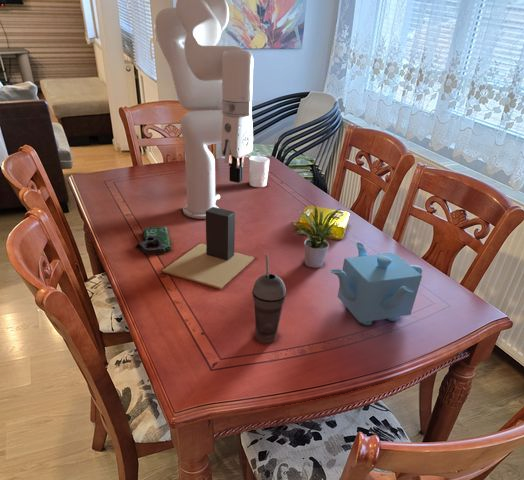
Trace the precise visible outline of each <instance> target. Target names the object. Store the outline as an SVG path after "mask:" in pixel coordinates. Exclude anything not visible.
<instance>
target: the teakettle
mask: <svg viewBox="0 0 524 480" xmlns="http://www.w3.org/2000/svg"><path fill="white" fill-rule="evenodd" d="M355 245H356V248H357V251H358V256H353V257H345V258H343V264H342V268H341V269H337V268H336V269H330V270H329V272H330V273H331V274H334V275H335V276H337V278H338V283H339V284H338V285H339V286H338V292H337V298H338V299H339V300H340V301H341V303H342V304H343V305H344V306H345V307H346V308H347V310H348V311H349V312H350V313H351V314H352V315H353V316H354V318H355V319H356V320H357V321H358V323H360V324H362V325H365V326H371V325H372V324H373V321H378V320H379V321H380V320H385V319H386V320H388V321H391V322H396V321H398V319H399V317H404V316H410V315H411V314H412V312H413V308H414V305H415V302H416V299H417V294H418V291H419V287H420V284H421V282H422V278H423V275H422V274H423V268H422V267H421V266H419V265H415V264H409V263H408V262H407V261H405V260H404V259H403V258H402V257H401V256H399V255H398V254H397V253H396V252H389V253H379V254H378V253H377V254H370V255H369V254H368V253H367V249H366V247H365V246H364V244H363V243H362V242H356V244H355Z"/></svg>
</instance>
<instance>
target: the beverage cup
mask: <svg viewBox="0 0 524 480" xmlns="http://www.w3.org/2000/svg"><path fill="white" fill-rule="evenodd" d="M269 267H270V266H269V254H268V253H266V254H265V274H262V275H261V276H259V277H258V278H257V279H256V280H255V282H254V284H253V288H252V291H251V294H252V300H253V306H254V307H253V308H254V329H255V339H256V340H257V341H259V342H261V343H266V344H268V343H273V342H274V341H275V340H276V338H277V334H278V329H279V325H280V319H281V314H282V309H283V305H284V303H285V300H286V297H287V289H286V285H285V282H284V281H283V279H282V278H281V277H279V275H276V274H274V273H270V270H269Z"/></svg>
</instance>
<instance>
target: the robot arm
mask: <svg viewBox="0 0 524 480" xmlns="http://www.w3.org/2000/svg"><path fill="white" fill-rule="evenodd" d="M229 9H230V8H229V4H228V2H227V0H176V3H175V7H167V8H162V9H161V10H159V12H157V14H156V16H155V33H156V38H157V42H158V45H159V47H160V50H161V52H162V54H163V56H164V58H165V60H166V63H167V64H168V67H169V69H170V72H171V77H172V81H173V85H174V88H175V92H176V97H177V100H178V103H179V105H180V107H181V108H182V109H183V110H185V111H188V112H186V113H184V115H182V117H181V119H180V131H181V132H180V133H181V137H182V142H183V150H184V165H185V183H186V184H185V185H186V205H184V206H183V208H182V213H183V214H184V215H185V216H187V217H189V218H192V219H197V220H206V211H207V210H209V209H210V208H212V207H216V208H220V207H219V206H218V205H216V202H218V200H220V199H221V195H220V194H219V193H216V159H215V156H214V155H213V153H212V152H211V150H210V149H209V148H208V146H210V145H217V144H218V145H220V147H221V148H220V149H221V151H220V152H221V155H222V156H223V157H224V163H226V164H228V167H229V178H228V179H229V181H230V182H233V183H236V184H240V183H242V182H243V174H244V173H243V170H244V169H243V168H244V167H243V166H244V164H245V163H244V162H245V157H246V156H247V155H249V154H250V153H252V152H253V150H254V128H253V127H254V126H253V125H254V124H253V112H252V111H253V83H254V55H253V53H252V52H251V51H249V50H245V49H243V48H242V47H240V46H236V45H218V43H219V41H220V39H221V36H222V32H223V31H224V30H225V29H226V28H227V26H228V23H229V20H230V10H229ZM183 43H184V44H183Z"/></svg>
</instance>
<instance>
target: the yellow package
mask: <svg viewBox="0 0 524 480" xmlns="http://www.w3.org/2000/svg"><path fill="white" fill-rule="evenodd" d="M316 208H317V210H318V225H319V219H320V211H321V213H322V211H323V220H322V224H323V221H324V219H325V217H326V216H327V215H328V214H329V213H331V212H334V211H336V210H337V209H333V208H328V207H320V206H316ZM338 210H339V209H338ZM302 212H303V213H305V214H306V215H308V216H309V218H310V219H311V221H312V220H313V221H314V219H313V217H312V215H311V213H312V214H313V215H314V217H315V210H314V205H308V206H306V207H305V208H304V210H303V211H302ZM301 214H302V213H301ZM301 214H300V216H299V218H298V222H297V224H300V225H302V226H304V227H306V228H307V229H309V230H310V231H311V232H312V233H313V231H312V229H311V228H310V227H309V226H308V225H312V224H311V222H310V221H309V219H308V218H307V217H306V216H305V215H304V214H302V215H301ZM331 214H332V213H331ZM331 214H330V215H331ZM303 215H304V216H303ZM330 215H329V216H330ZM336 215H337V216H336ZM329 216H328V217H329ZM335 216H336V217H335ZM328 217H327V219H328ZM334 217H335V219H334V220H333V221H332V222H331V220H332V219H333V218H334ZM301 218H302V219H301ZM306 218H307V219H308V220H307V219H306ZM333 218H332V219H331V220H330V222H331V224H330V225H329V226H328V227H330V226H331V225H332V224H333V223H334V222H335V221H336V220H337V219H338V218H339V219H338V220H337V221H336V222H335V223H334V224H333V225H334V226H332V227H331V228H333V229H334V230H333V229H332V230H330V232H333V233H332V234H330V235H329V236H330V237H328V236H327V238H326V239H329V240H335V241H340V240H342V239H343V238H344V236H345V233H346V231H347V227H348V223H349V218H350V212H348V211H346V210H339V211H338V212H337V213H336V214H335V215H334V216H333ZM303 219H304V220H303ZM327 219H326V220H325V222H324V224H323V227H322V229H323V228H324V225H325V223H326V221H327ZM308 221H309V222H308ZM330 222H329V223H330ZM309 223H310V224H309ZM314 223H315V221H314ZM315 229H316V226H315ZM298 230H301V229H300V228H299V227H297V231H298ZM301 235H305V234H304V233H301ZM332 235H337V236H338V237H336V236H332ZM338 238H339V239H338Z"/></svg>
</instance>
